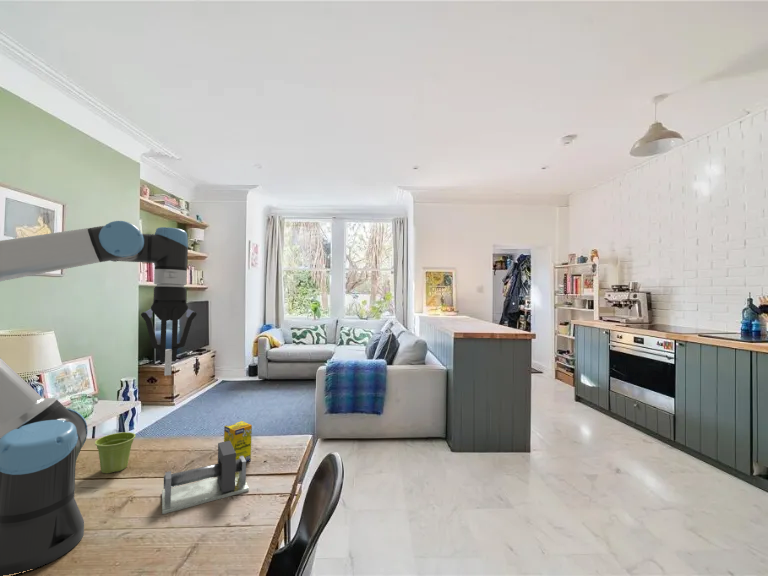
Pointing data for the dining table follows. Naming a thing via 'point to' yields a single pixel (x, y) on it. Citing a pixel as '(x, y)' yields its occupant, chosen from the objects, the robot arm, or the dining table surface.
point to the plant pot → (114, 451)
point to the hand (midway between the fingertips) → (167, 374)
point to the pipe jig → (199, 486)
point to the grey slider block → (227, 466)
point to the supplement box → (239, 438)
